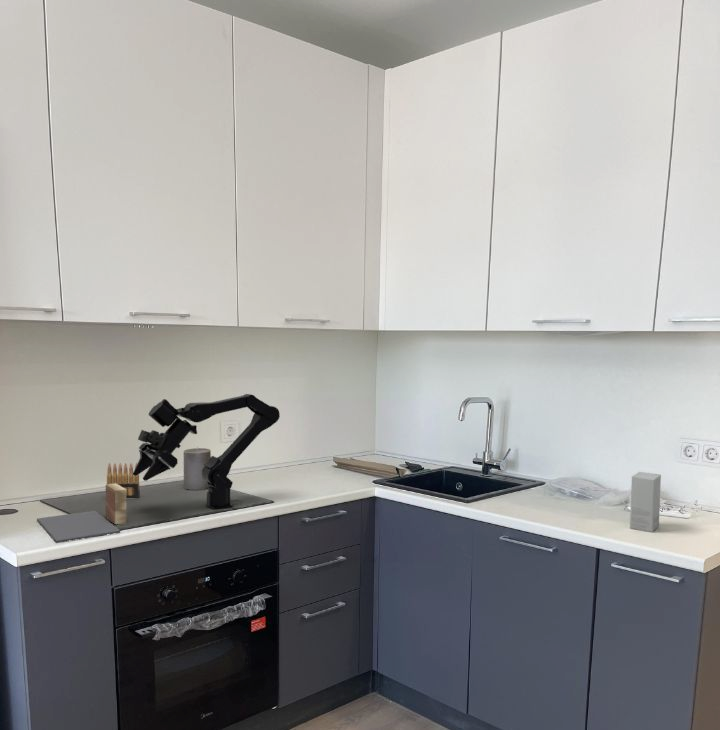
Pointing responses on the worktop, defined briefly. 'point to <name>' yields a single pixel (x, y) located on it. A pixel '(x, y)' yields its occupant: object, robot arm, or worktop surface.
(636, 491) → the skincare box
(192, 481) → the pillar candle
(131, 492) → the ammunition clip
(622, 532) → the worktop surface
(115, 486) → the wooden block
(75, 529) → the rubber mat
